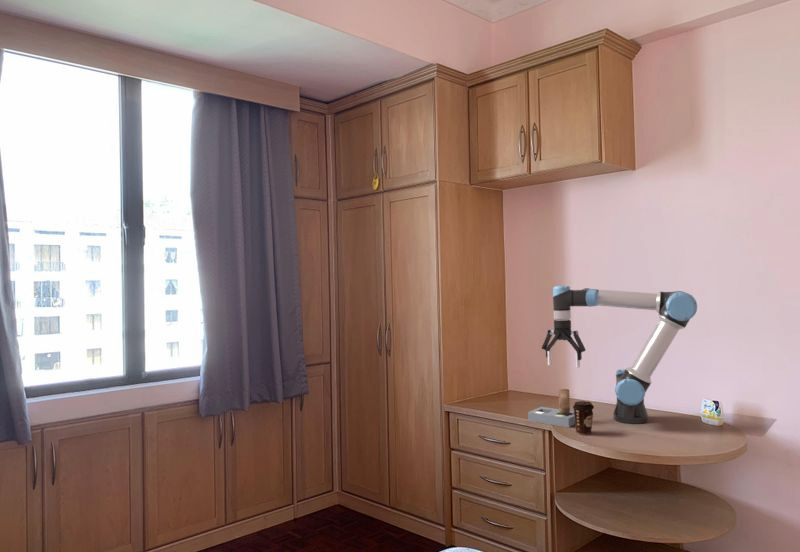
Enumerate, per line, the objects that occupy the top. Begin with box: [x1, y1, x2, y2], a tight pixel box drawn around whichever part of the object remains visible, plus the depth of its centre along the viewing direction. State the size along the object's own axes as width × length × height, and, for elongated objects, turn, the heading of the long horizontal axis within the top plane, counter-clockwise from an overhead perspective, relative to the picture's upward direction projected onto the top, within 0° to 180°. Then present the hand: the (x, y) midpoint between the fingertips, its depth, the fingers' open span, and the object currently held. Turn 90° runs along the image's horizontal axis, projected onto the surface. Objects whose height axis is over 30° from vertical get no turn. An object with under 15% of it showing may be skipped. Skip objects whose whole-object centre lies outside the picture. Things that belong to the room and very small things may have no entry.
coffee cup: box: [572, 400, 595, 436], centre depth 246 cm, size 9×8×13 cm
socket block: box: [527, 406, 576, 428], centre depth 267 cm, size 13×20×4 cm, turn 49°
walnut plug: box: [558, 388, 571, 416], centre depth 264 cm, size 5×5×15 cm
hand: (563, 366), depth 264 cm, fingers open, 13 cm apart
